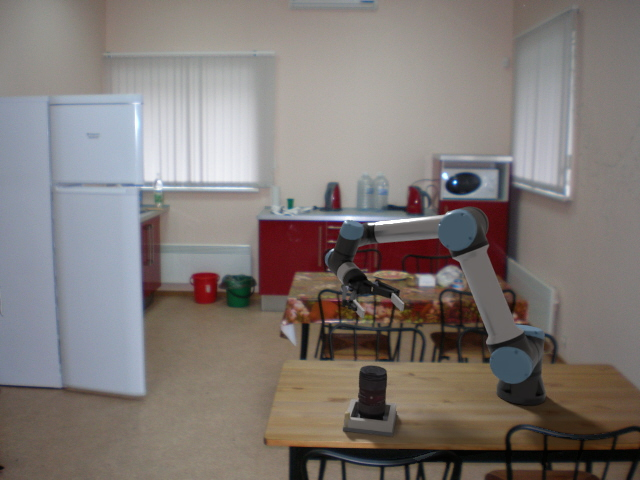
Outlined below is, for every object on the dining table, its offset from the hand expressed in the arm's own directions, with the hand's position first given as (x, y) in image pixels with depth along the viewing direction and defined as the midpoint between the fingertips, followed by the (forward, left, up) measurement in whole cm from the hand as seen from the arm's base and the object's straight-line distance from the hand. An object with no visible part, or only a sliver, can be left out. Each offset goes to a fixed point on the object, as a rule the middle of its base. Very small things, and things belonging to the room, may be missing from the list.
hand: (383, 311), depth 181 cm
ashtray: (+1, +13, -30) cm, 33 cm away
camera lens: (+1, +12, -29) cm, 32 cm away
